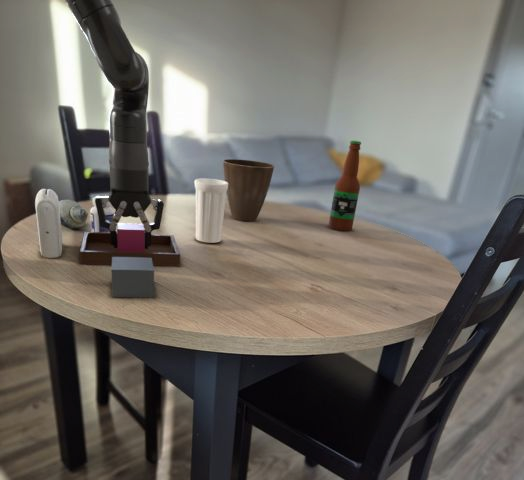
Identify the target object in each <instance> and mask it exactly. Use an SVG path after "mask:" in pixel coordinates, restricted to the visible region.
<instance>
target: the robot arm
mask: <svg viewBox="0 0 524 480" xmlns="http://www.w3.org/2000/svg"><path fill="white" fill-rule="evenodd" d="M65 3H66V5H67V6H68V9H69V11H70V12H71V13H72V15H73V17H74V19H75V21H76V22H77V24H78V26H79V27H80V29H81V31H82V32H83V34H84V35H85V37H86V39H87V41H88V43H89V46H90V49H91V52H92V53H93V54H94V57H95V60H96V62H97V64H98V67H99V68H100V71H101V72H102V74H103V76H104V77H105V79H106V81H107V82H108V83H109V85H111V86H112V106H111V108H110V111H109V114H108V128H109V130H108V131H109V148H108V156H109V157H108V163H109V186H110V188H109V189H110V190H109V194H108V195H105V196H100V195H96V196H95V197H96V198H95V203H96V208H97V213H98V217H99V222H100V226H101V227H103V228H104V227H105V228H107V229H109V231H110V243H111V245H114V248H117V224H118V223H120V220H121V218H122V217H123V218H129V217H130V218H134V219H135V218H137V219H138V218H139V220H140V221H141V224H143V226H144V230H145V249H148V246H151V234H152V232H153V231H156V230H160V228H161V223H162V218H163V212H164V205H165V203H164V201H163V199H161V198H159V199H155V198H151V195H150V194H149V193H150V192H149V165H150V162H149V149H148V143H147V142H148V121H147V111H148V110H147V109H148V102H149V101H148V99H149V91H150V90H149V89H150V88H149V87H150V74H149V73H150V71H149V67H148V64H147V62H146V60H145V58H144V57H143V56H142V55H141V54H140V53H138V52H137V51H136V50H135V48H134V47H133V45H132V44H131V42H130V40H129V37H128V36H127V34H126V32H125V30H124V29H123V26H122V22H121V18H120V15H119V13H118V11H117V8H116V7H115V5H114V3H113V0H65ZM107 202H110V203H111V206H112V208H113V210H114V215H113V218H112V220H111V222H109V221H107V220H106V217H105V212H104V208H105V207H106V205H107ZM150 205H152V209H153V211H154V219H153V222H151V223H150V221H149V218H148V217H147V214H146V212H145V211H147V209H148V208H149V206H150Z"/></svg>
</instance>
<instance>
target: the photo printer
mask: <svg viewBox="0 0 524 480" xmlns="http://www.w3.org/2000/svg"><path fill="white" fill-rule="evenodd" d="M59 201H60V200H59V196H58V194H57V193H56V192H55V191H54V190H53V189H51V188H48V189H47V188H41V189H40V190H38V192H37V193H36V196H35V201H34V206H35V215H36V224H37V225H36V226H37V233H38V243H39V251H40V254H41V256H42V257H44V258H48V259H56V258H59V257H61V256H62V253H63V234H62V232H63V231H62V225H61V220H60V210H59Z"/></svg>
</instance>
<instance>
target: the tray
mask: <svg viewBox="0 0 524 480" xmlns="http://www.w3.org/2000/svg"><path fill="white" fill-rule="evenodd" d="M112 257H139V258H152V262H153V267H180V266H181V253H180V250H179V247H178V245H177V241H176V238H175V235H174V234H153V233H151V246H148V249H145V252H118V243H117V248H114V245H111V243H110V233H103V232H92V231H84V233H83V237H82V241H81V245H80V249H79V260H80V262H79V263H80V265H99V266H101V265H104V266H105V265H106V266H112Z"/></svg>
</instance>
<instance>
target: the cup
mask: <svg viewBox="0 0 524 480" xmlns="http://www.w3.org/2000/svg"><path fill="white" fill-rule="evenodd" d="M194 188H195V239H196V240H197V241H199V242H203V243H208V244H210V243H213V244H214V243H219V242H221V241H222V233H223V225H224V217H225V216H224V215H225V207H226V199H227V193H226V192H227V189H228V182H226V181H225V180H222V179H217V178H207V177H206V178H205V177H203V178H202V177H201V178H195V179H194Z"/></svg>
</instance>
